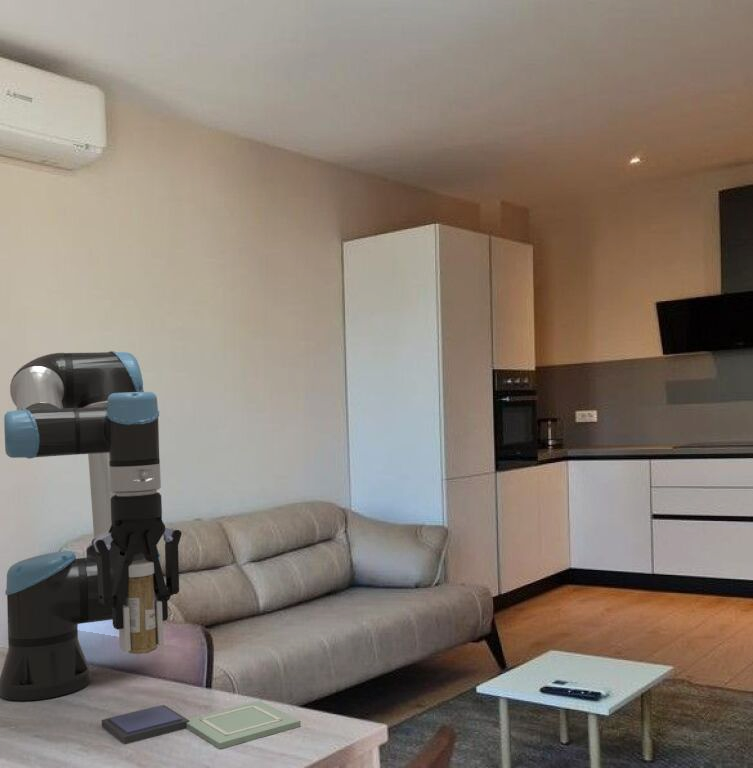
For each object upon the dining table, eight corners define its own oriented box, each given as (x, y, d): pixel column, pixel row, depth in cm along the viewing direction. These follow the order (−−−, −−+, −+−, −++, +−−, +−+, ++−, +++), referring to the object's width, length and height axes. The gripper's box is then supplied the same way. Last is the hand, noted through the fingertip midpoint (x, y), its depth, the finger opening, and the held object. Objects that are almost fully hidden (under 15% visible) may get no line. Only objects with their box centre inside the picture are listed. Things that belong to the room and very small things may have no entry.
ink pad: (101, 726, 134) (101, 717, 134) (164, 711, 140) (163, 702, 140) (124, 744, 126) (123, 735, 126) (189, 727, 131) (189, 718, 132)
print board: (182, 725, 132) (182, 719, 132) (259, 705, 140) (259, 699, 140) (219, 749, 122) (219, 742, 122) (300, 726, 129) (300, 719, 129)
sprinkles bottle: (161, 650, 133) (158, 561, 133) (131, 656, 130) (128, 566, 131) (151, 644, 137) (148, 558, 137) (122, 650, 134) (119, 562, 134)
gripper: (86, 500, 126) (91, 663, 125) (199, 488, 136) (205, 639, 136) (70, 496, 132) (76, 652, 132) (180, 486, 142) (185, 630, 142)
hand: (141, 645), depth 134 cm, fingers closed on sprinkles bottle, 4 cm apart
